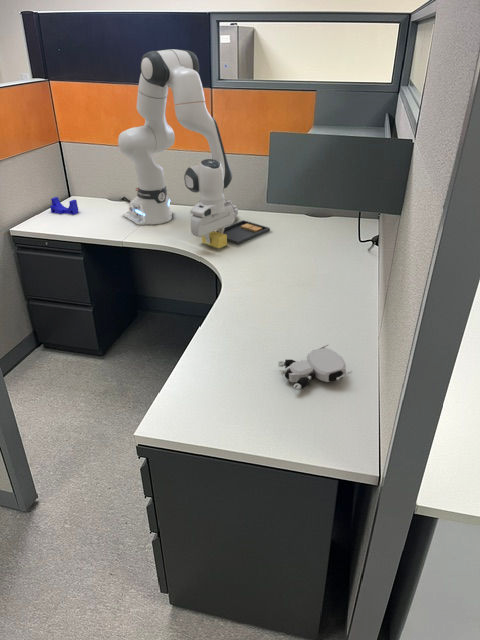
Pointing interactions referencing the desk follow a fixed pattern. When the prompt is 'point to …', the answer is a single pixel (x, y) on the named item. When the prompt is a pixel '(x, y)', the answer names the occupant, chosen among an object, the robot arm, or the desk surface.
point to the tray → (242, 232)
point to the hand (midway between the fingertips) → (214, 240)
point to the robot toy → (315, 367)
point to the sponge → (216, 240)
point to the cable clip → (60, 209)
